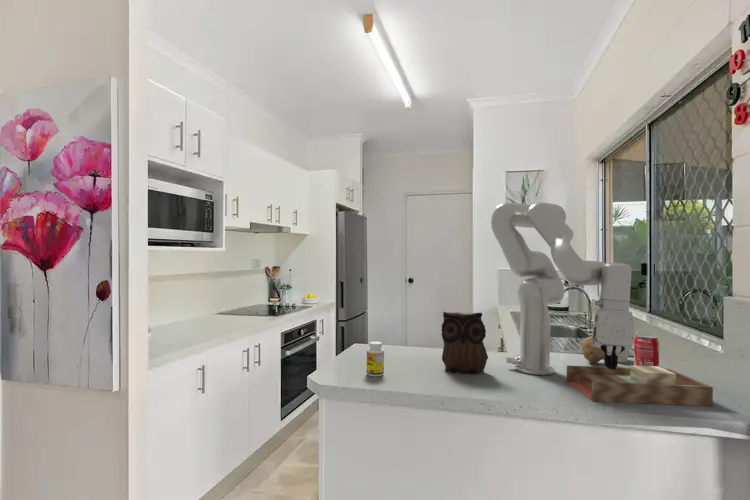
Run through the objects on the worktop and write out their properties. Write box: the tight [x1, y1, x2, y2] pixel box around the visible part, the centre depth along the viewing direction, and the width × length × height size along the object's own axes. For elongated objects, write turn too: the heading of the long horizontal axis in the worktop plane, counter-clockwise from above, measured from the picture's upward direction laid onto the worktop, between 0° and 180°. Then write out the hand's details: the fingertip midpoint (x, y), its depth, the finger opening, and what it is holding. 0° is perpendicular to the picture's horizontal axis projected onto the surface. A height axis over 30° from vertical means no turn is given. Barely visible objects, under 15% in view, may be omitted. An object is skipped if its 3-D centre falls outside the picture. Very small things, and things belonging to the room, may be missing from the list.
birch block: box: [630, 364, 676, 385], centre depth 121 cm, size 8×8×4 cm
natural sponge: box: [581, 336, 605, 364], centre depth 156 cm, size 9×9×10 cm
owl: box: [441, 311, 489, 375], centre depth 142 cm, size 13×13×20 cm
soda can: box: [633, 333, 660, 367], centre depth 142 cm, size 7×7×13 cm
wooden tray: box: [566, 365, 714, 407], centre depth 122 cm, size 31×18×5 cm, turn 87°
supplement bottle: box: [365, 341, 385, 378], centre depth 135 cm, size 6×6×10 cm
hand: (610, 367), depth 123 cm, fingers closed
